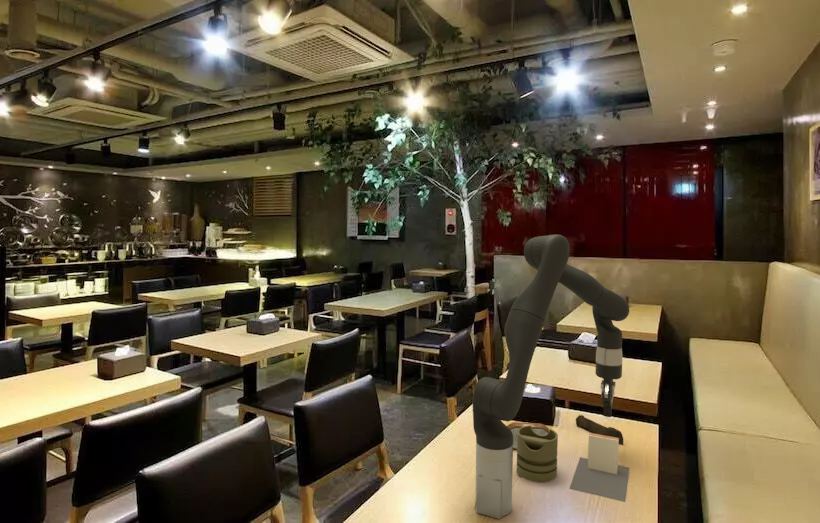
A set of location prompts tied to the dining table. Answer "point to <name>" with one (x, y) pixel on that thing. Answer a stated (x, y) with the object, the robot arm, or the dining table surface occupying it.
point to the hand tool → (599, 428)
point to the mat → (600, 481)
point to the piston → (536, 455)
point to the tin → (536, 427)
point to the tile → (603, 453)
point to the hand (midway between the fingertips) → (607, 415)
